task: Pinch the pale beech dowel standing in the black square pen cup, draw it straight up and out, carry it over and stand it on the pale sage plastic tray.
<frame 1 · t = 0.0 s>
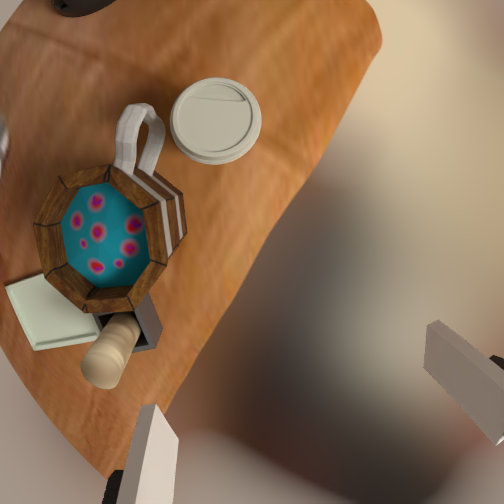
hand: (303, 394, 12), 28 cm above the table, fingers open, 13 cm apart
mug: (145, 196, 36), on the table
coffee cup: (217, 135, 35), on the table
pen cup: (133, 312, 40), on the table
tray: (53, 309, 38), on the table
dowel: (132, 315, 39), point 1 cm above the table, touching pen cup
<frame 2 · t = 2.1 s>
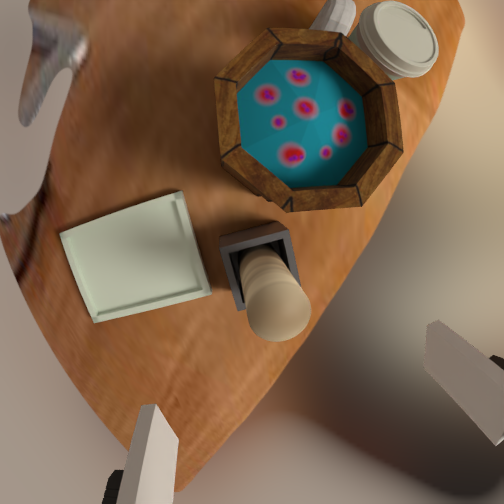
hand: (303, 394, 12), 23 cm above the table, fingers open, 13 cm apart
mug: (283, 115, 31), on the table
coffee cup: (356, 67, 30), on the table
pen cup: (256, 256, 34), on the table
tray: (133, 260, 33), on the table
dowel: (257, 258, 33), point 1 cm above the table, touching pen cup
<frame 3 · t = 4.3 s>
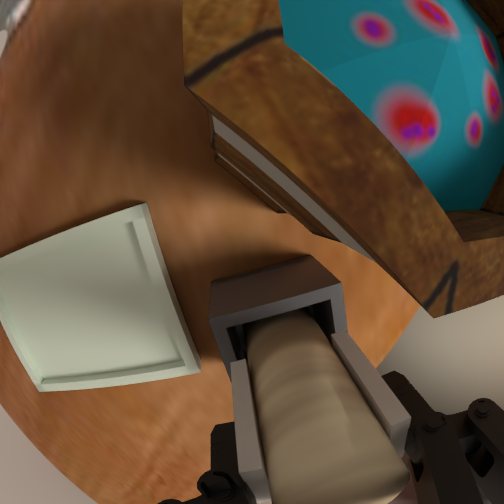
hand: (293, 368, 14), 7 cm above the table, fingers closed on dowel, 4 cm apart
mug: (320, 77, 17), on the table
pen cup: (272, 313, 20), on the table
tray: (78, 312, 19), on the table
dowel: (274, 317, 20), point 1 cm above the table, touching gripper
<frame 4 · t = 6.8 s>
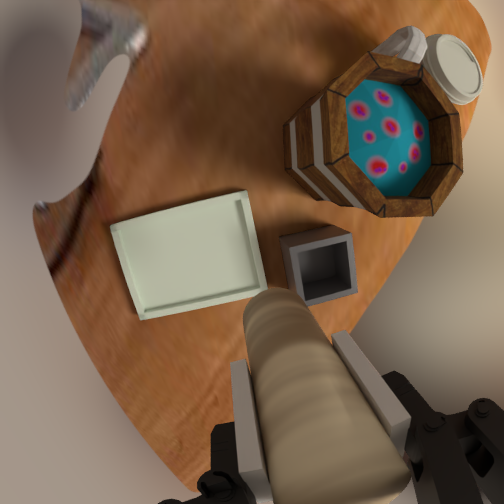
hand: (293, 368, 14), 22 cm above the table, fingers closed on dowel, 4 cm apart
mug: (342, 126, 32), on the table
coffee cup: (403, 87, 31), on the table
pen cup: (311, 257, 36), on the table
tray: (189, 256, 34), on the table
dowel: (275, 318, 20), point 16 cm above the table, touching gripper
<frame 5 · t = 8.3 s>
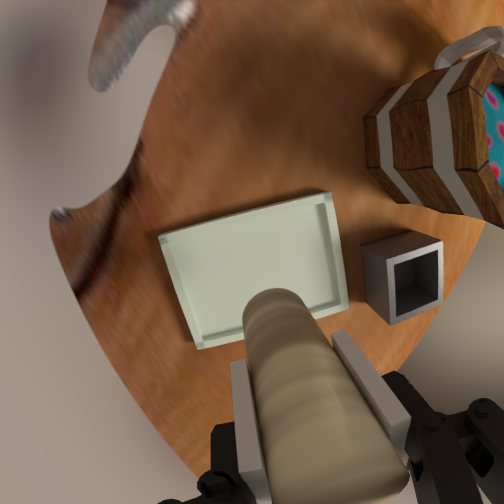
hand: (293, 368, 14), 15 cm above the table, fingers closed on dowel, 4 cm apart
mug: (418, 122, 26), on the table
pen cup: (390, 266, 30), on the table
tray: (259, 271, 29), on the table
dowel: (274, 318, 20), point 9 cm above the table, touching gripper
when the fingers open (7 cm above the table, at t = 9.7 s): dowel drops 1 cm, resting on tray.
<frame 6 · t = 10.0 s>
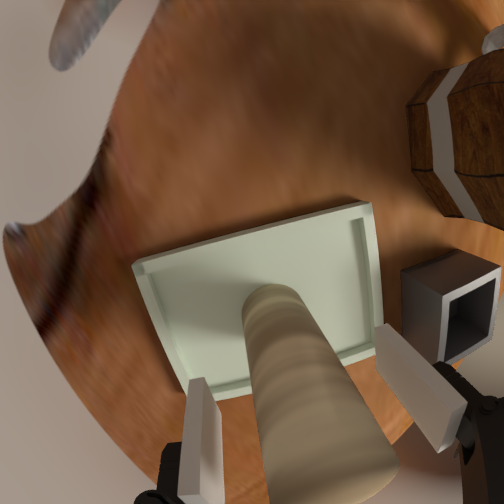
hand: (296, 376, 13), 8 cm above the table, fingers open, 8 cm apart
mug: (465, 115, 19), on the table
pen cup: (432, 295, 22), on the table
tray: (271, 309, 21), on the table
dowel: (273, 313, 20), point 1 cm above the table, touching tray
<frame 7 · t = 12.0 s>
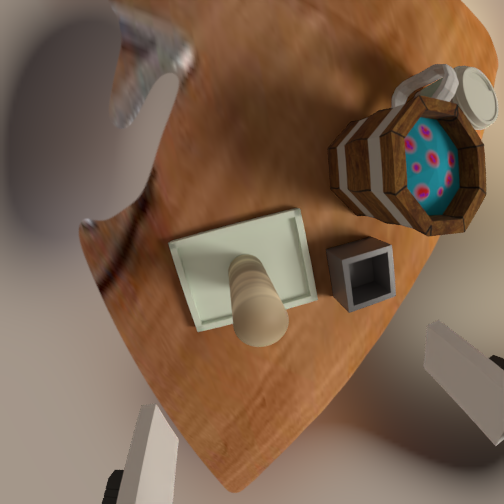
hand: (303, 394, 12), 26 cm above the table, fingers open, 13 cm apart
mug: (377, 147, 35), on the table
coffee cup: (426, 108, 35), on the table
pen cup: (352, 266, 39), on the table
tray: (245, 270, 37), on the table
dowel: (246, 271, 37), point 1 cm above the table, touching tray
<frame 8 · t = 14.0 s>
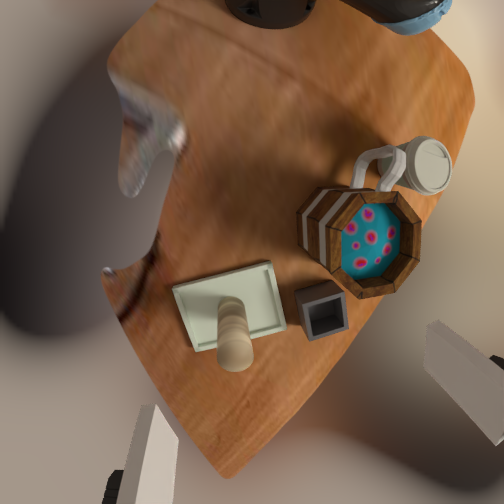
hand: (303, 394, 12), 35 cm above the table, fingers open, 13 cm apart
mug: (340, 207, 46), on the table
coffee cup: (390, 165, 45), on the table
pen cup: (316, 303, 49), on the table
tray: (231, 307, 48), on the table
dowel: (231, 308, 47), point 1 cm above the table, touching tray
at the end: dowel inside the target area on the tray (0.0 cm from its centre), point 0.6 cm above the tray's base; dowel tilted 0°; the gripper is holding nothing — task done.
